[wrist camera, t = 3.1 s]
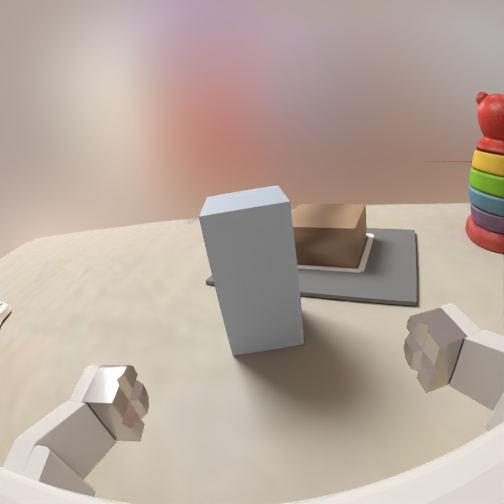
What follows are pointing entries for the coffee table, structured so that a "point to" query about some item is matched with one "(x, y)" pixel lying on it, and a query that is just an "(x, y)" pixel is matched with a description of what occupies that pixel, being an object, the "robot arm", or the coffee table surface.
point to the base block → (329, 234)
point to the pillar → (254, 268)
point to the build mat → (368, 272)
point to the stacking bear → (488, 176)
